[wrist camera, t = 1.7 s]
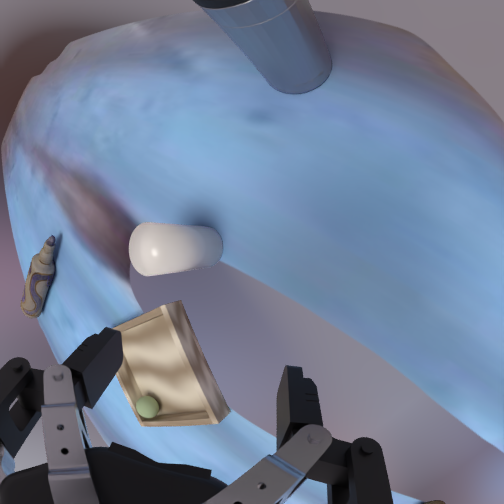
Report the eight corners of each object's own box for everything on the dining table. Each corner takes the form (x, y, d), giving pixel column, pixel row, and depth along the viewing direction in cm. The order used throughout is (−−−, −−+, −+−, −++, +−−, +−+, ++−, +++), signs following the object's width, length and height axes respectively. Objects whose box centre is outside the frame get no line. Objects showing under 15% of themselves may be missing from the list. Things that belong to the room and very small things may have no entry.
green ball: (143, 393, 44) (127, 401, 40) (157, 391, 42) (141, 400, 39) (153, 412, 43) (138, 421, 39) (167, 411, 42) (152, 421, 38)
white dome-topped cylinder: (183, 237, 39) (123, 236, 29) (213, 219, 37) (155, 212, 27) (197, 273, 38) (138, 283, 28) (229, 257, 36) (173, 263, 26)
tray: (114, 329, 47) (99, 334, 43) (180, 300, 40) (164, 304, 36) (153, 418, 44) (141, 426, 41) (230, 411, 37) (218, 423, 34)
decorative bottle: (45, 318, 60) (25, 322, 54) (36, 296, 62) (17, 298, 56) (70, 249, 52) (44, 250, 46) (59, 226, 54) (35, 225, 48)
